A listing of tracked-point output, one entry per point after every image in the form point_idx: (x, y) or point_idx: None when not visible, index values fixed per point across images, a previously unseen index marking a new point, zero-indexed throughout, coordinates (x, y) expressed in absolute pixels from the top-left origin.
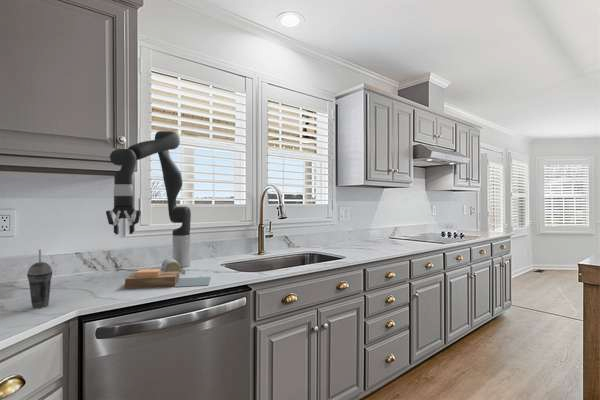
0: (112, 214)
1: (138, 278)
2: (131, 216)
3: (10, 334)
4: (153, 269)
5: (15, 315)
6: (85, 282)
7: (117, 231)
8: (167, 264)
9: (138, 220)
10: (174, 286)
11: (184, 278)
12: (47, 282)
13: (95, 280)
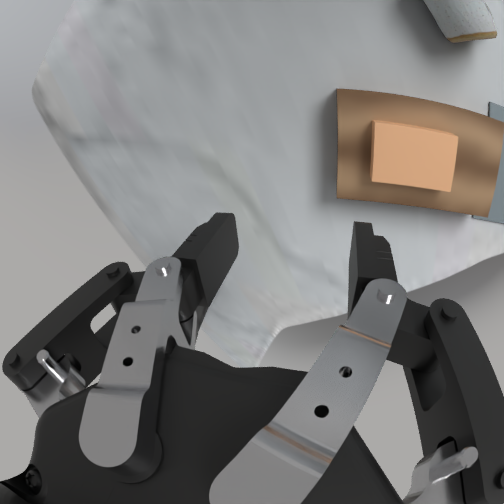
0: (72, 372)
1: (382, 201)
2: (367, 396)
3: None
4: (432, 139)
5: None
6: (166, 76)
7: (228, 253)
8: (461, 30)
9: (467, 346)
10: (473, 216)
11: (502, 115)
12: (199, 328)
13: (183, 49)
